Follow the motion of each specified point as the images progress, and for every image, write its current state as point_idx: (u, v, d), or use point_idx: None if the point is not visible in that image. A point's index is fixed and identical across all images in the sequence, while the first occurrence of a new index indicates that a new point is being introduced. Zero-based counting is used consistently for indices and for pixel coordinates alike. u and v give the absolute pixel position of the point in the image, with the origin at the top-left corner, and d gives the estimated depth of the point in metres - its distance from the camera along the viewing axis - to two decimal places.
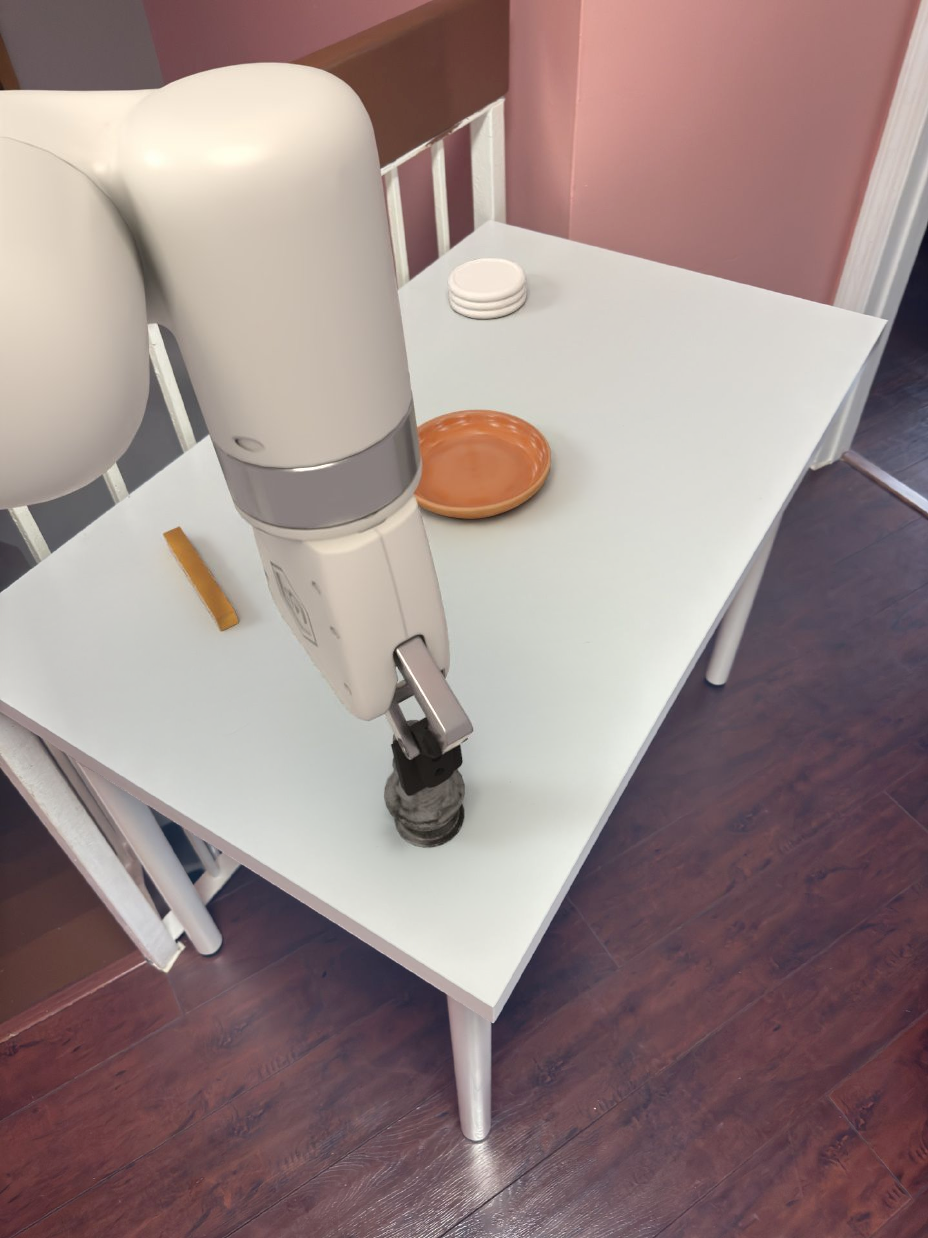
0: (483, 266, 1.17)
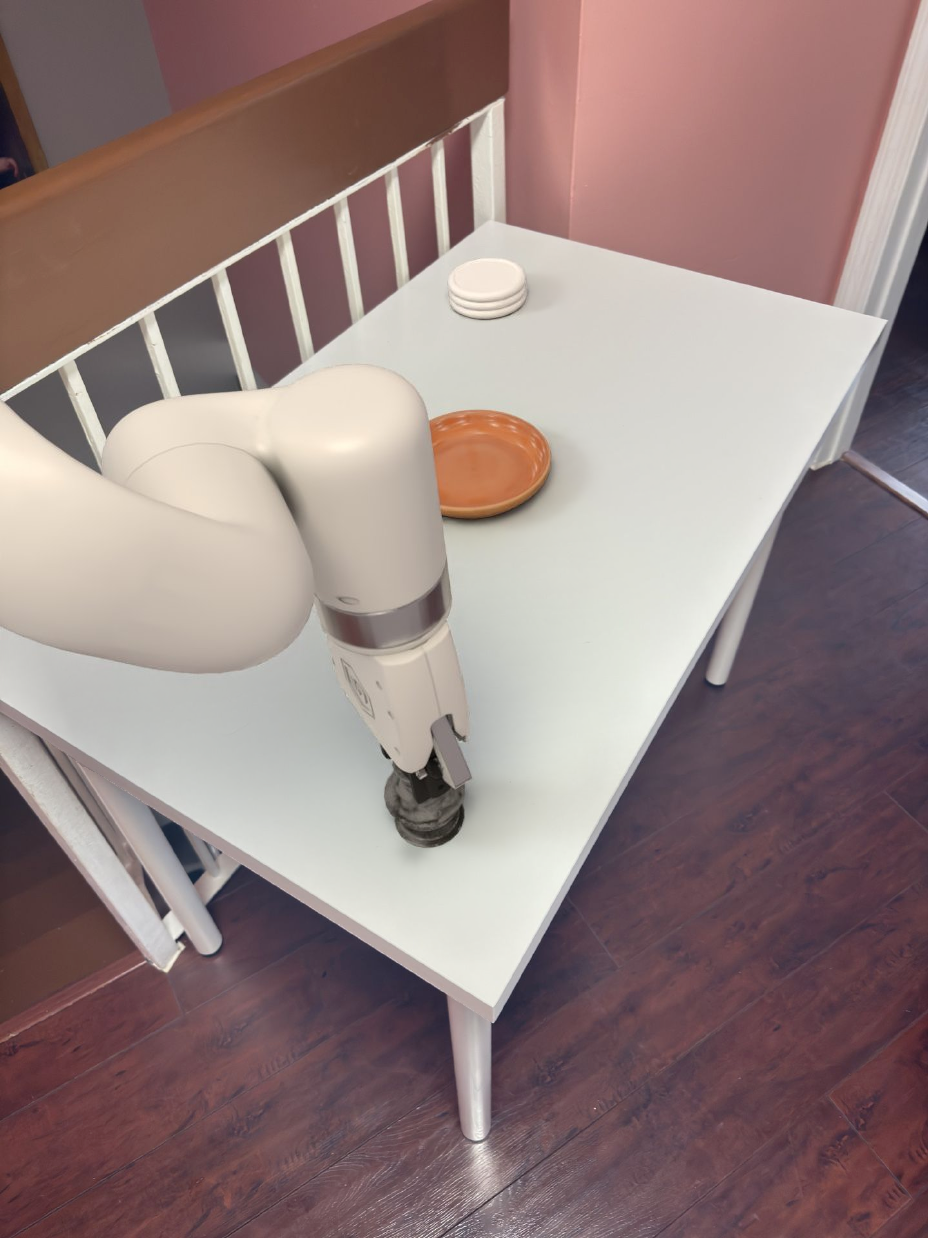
0: (483, 266, 1.17)
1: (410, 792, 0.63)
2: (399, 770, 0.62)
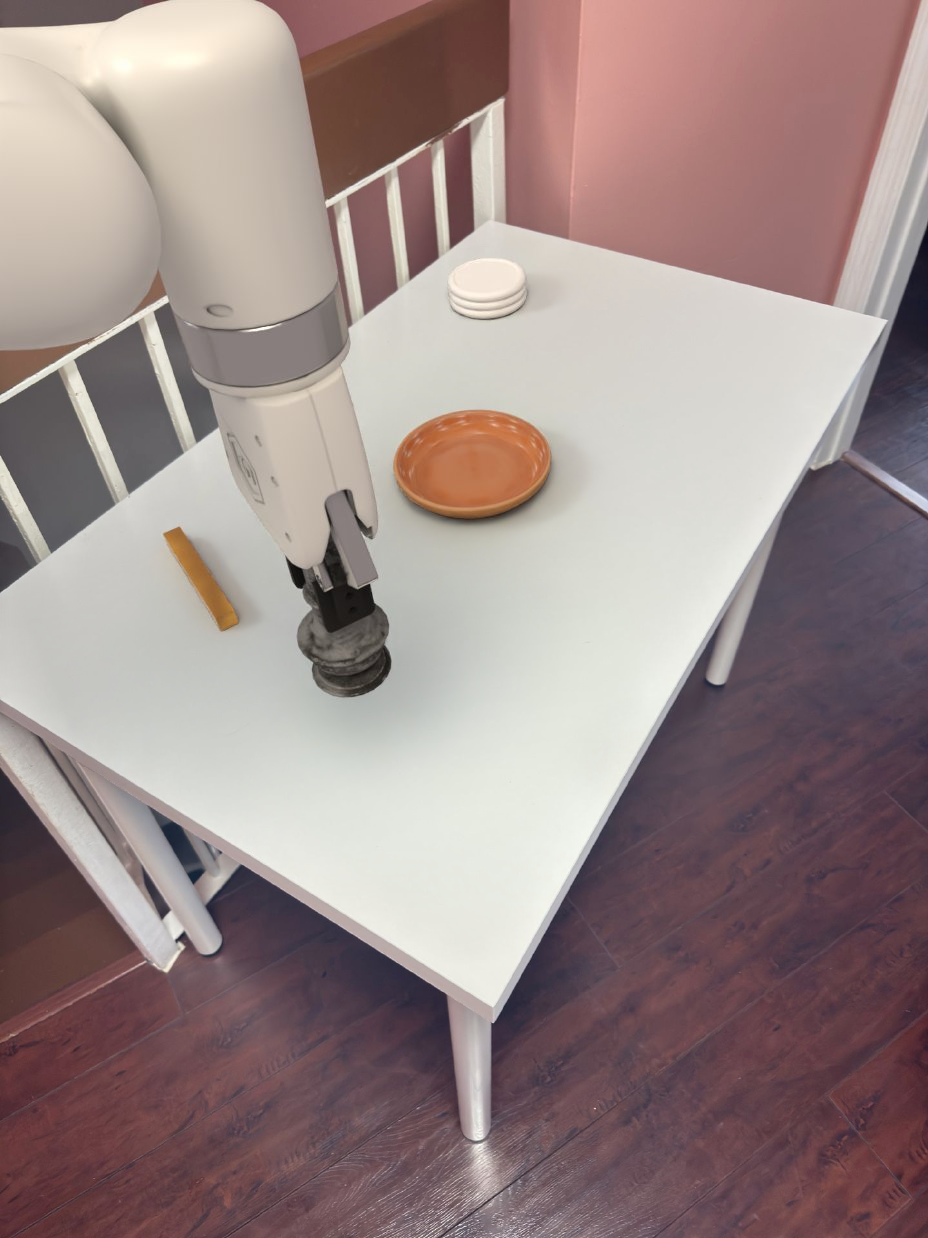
0: (483, 266, 1.17)
1: None
2: (309, 596, 0.54)
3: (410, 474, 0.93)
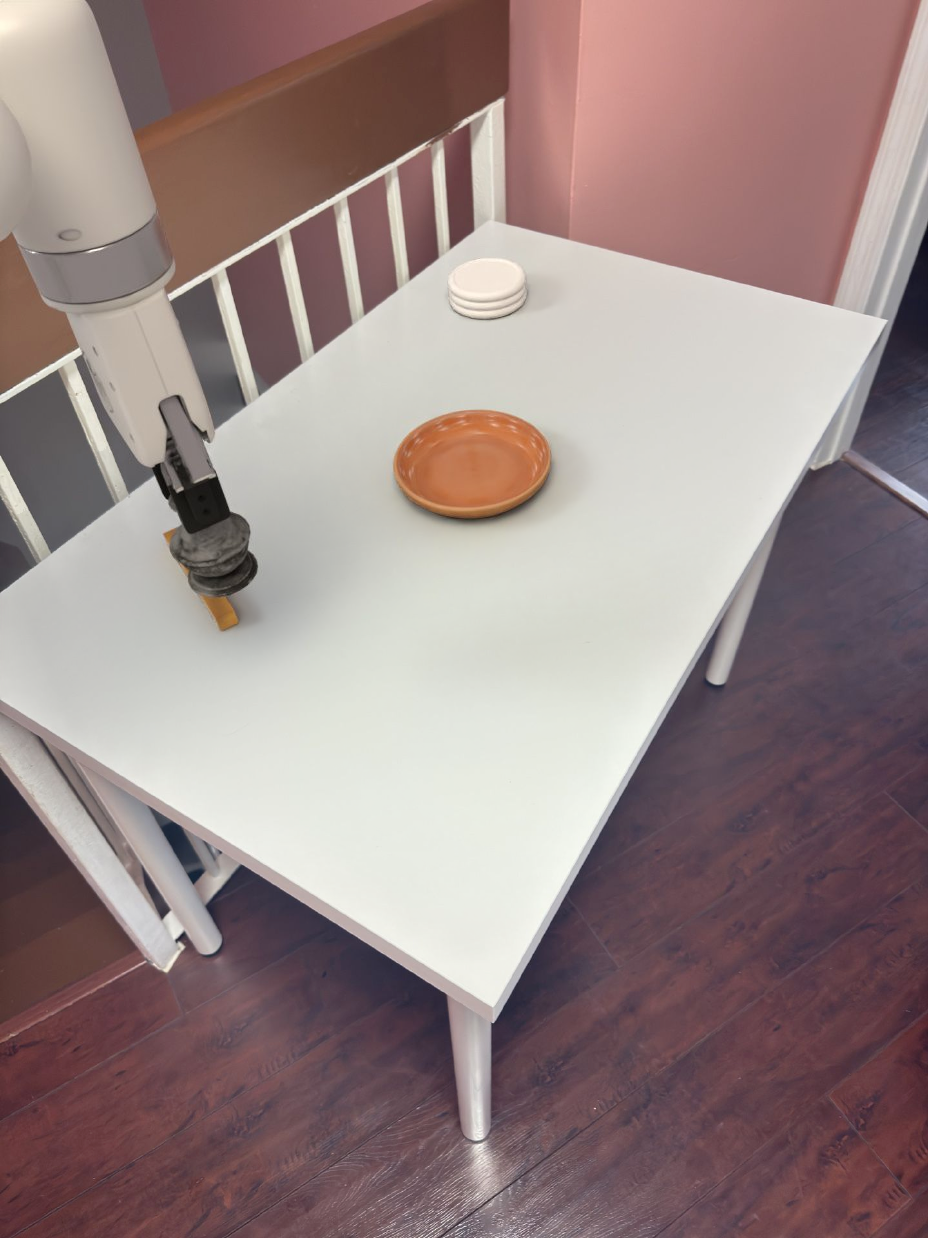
0: (483, 266, 1.17)
1: None
2: (173, 502, 0.62)
3: (410, 474, 0.93)
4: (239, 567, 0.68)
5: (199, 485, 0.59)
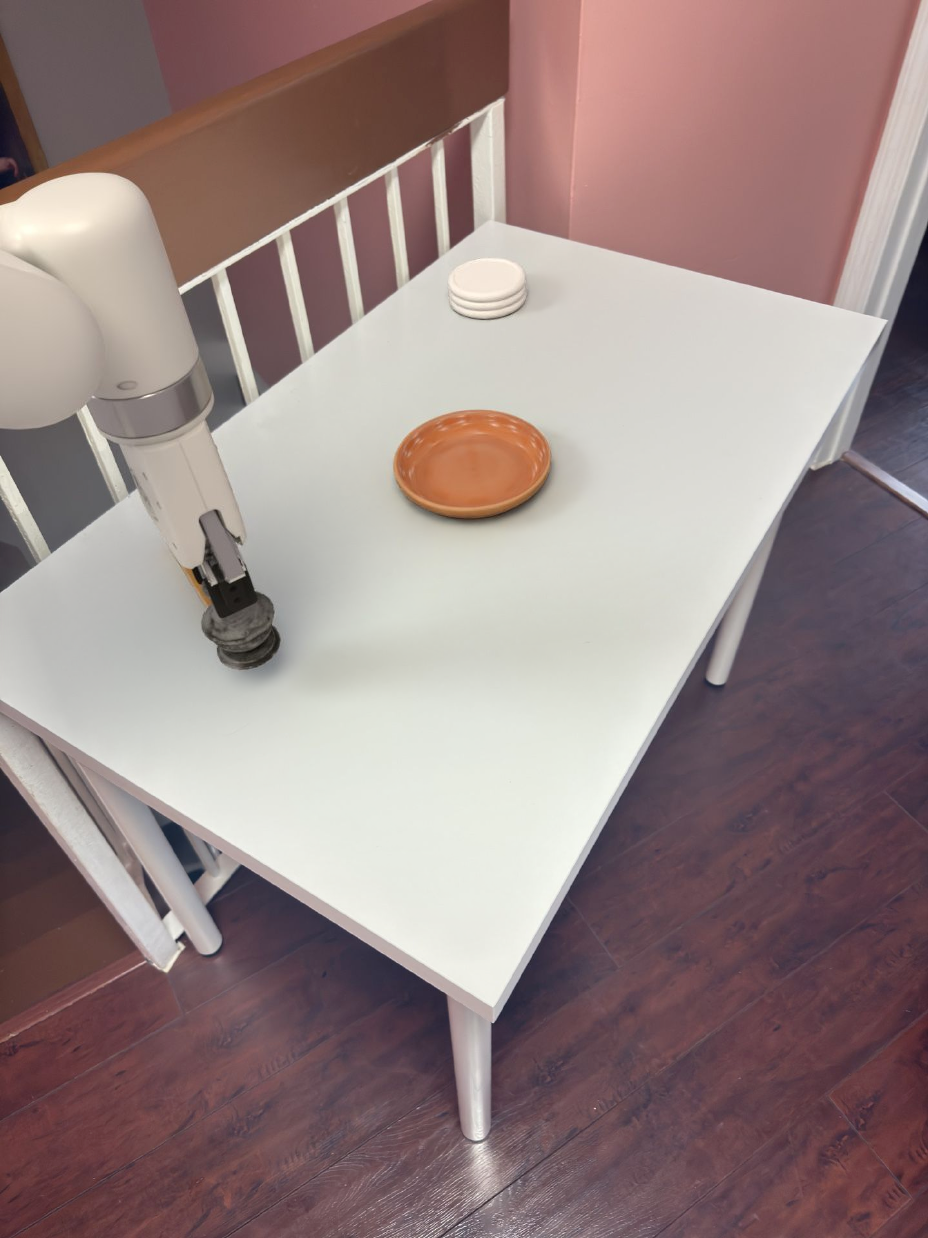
0: (483, 266, 1.17)
1: None
2: (206, 589, 0.69)
3: (410, 474, 0.93)
4: (264, 641, 0.75)
5: None
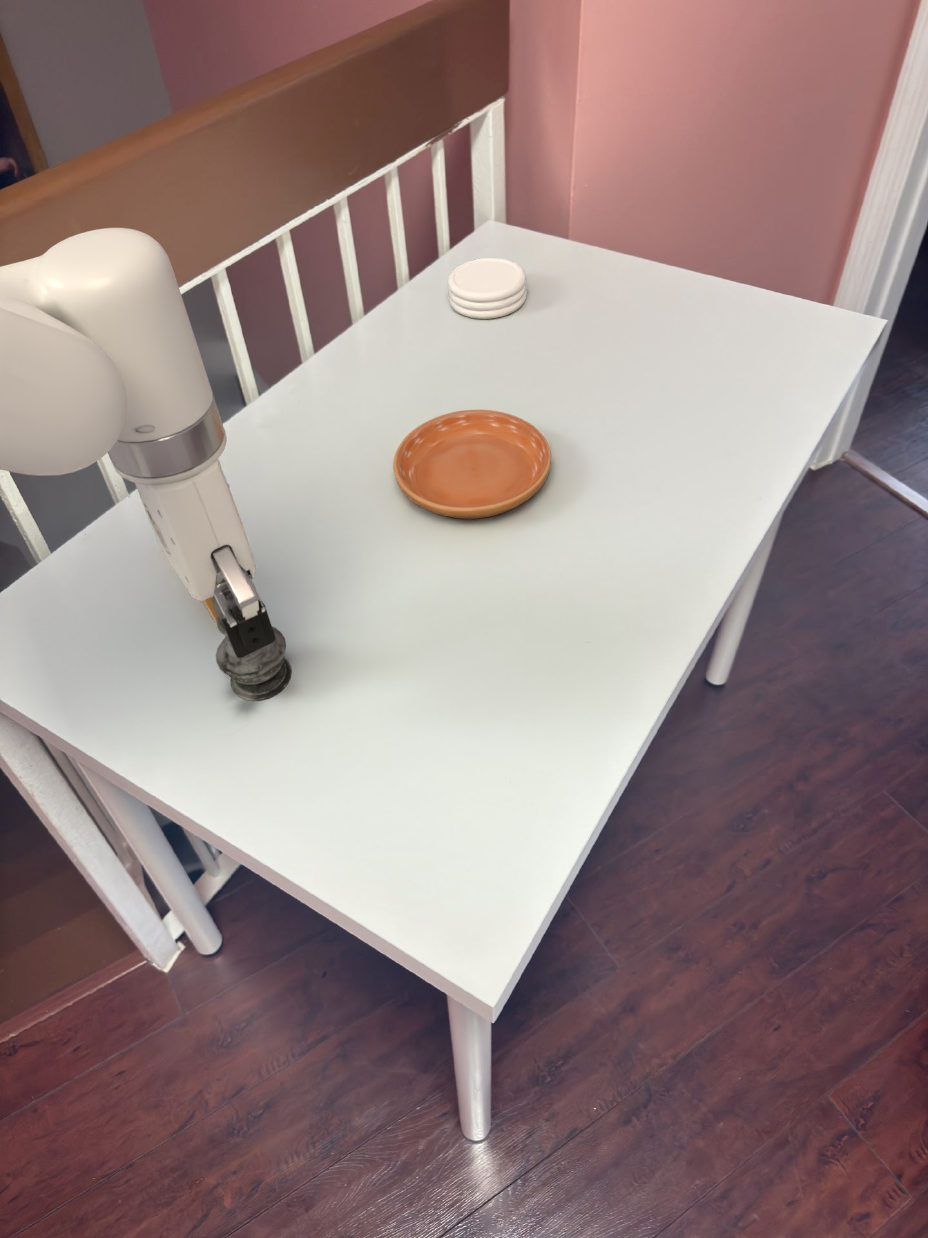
0: (483, 266, 1.17)
1: None
2: (221, 626, 0.72)
3: (410, 474, 0.93)
4: (276, 673, 0.78)
5: (250, 619, 0.66)
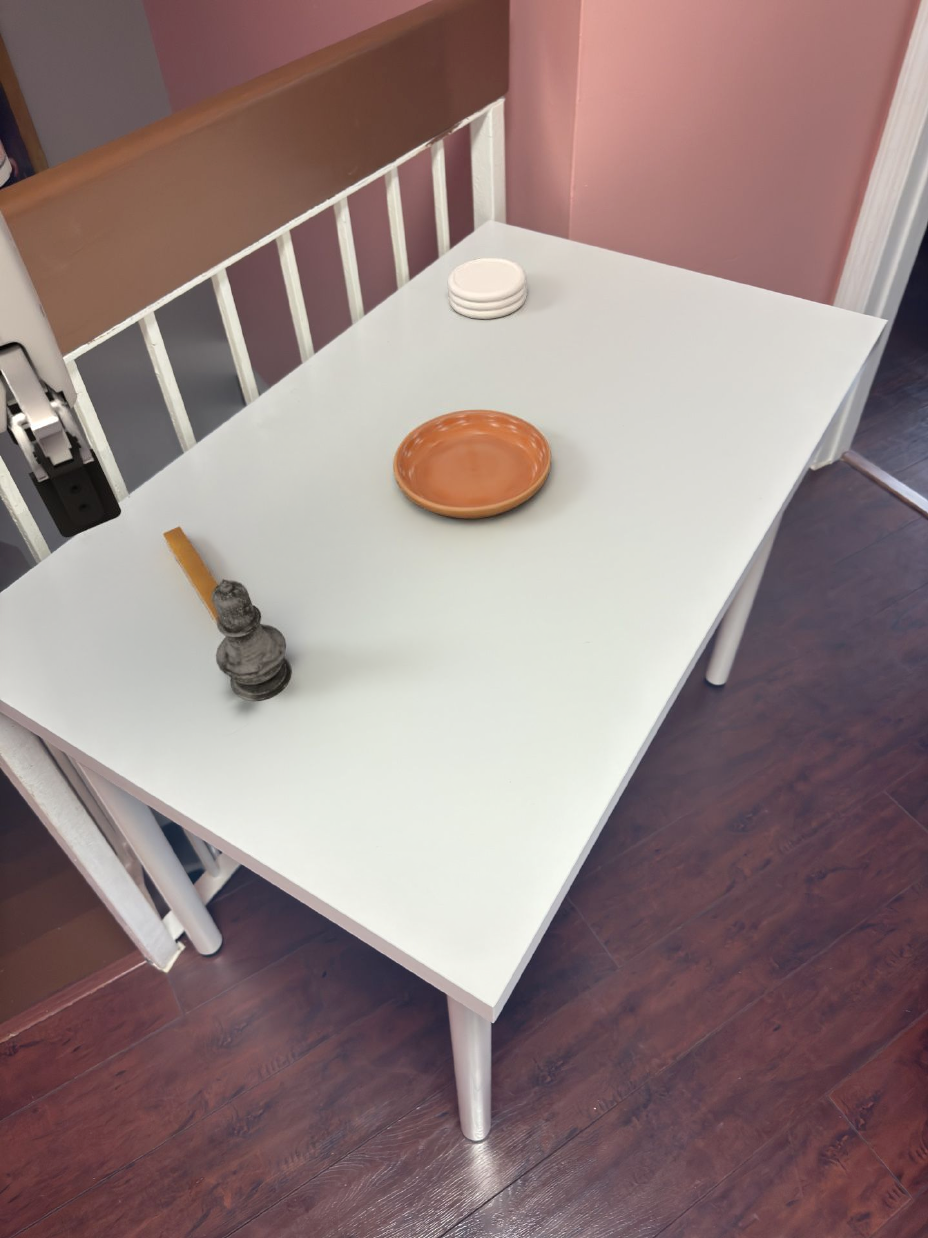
0: (483, 266, 1.17)
1: (233, 647, 0.74)
2: (221, 626, 0.72)
3: (410, 474, 0.93)
4: (276, 673, 0.78)
5: (71, 472, 0.44)
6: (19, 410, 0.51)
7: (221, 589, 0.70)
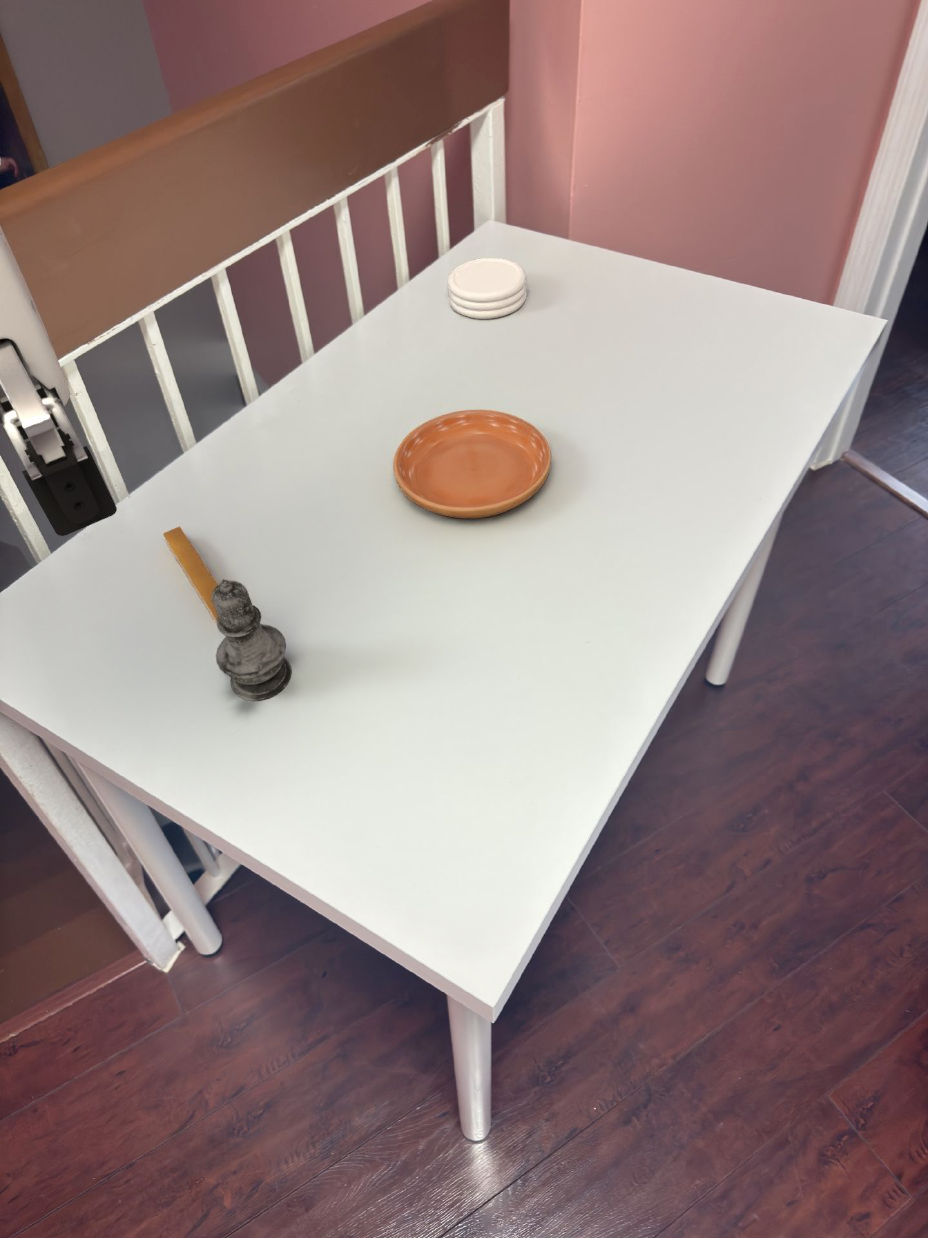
0: (483, 266, 1.17)
1: (233, 647, 0.74)
2: (221, 626, 0.72)
3: (410, 474, 0.93)
4: (276, 673, 0.78)
5: (65, 470, 0.43)
6: None
7: (221, 589, 0.70)
